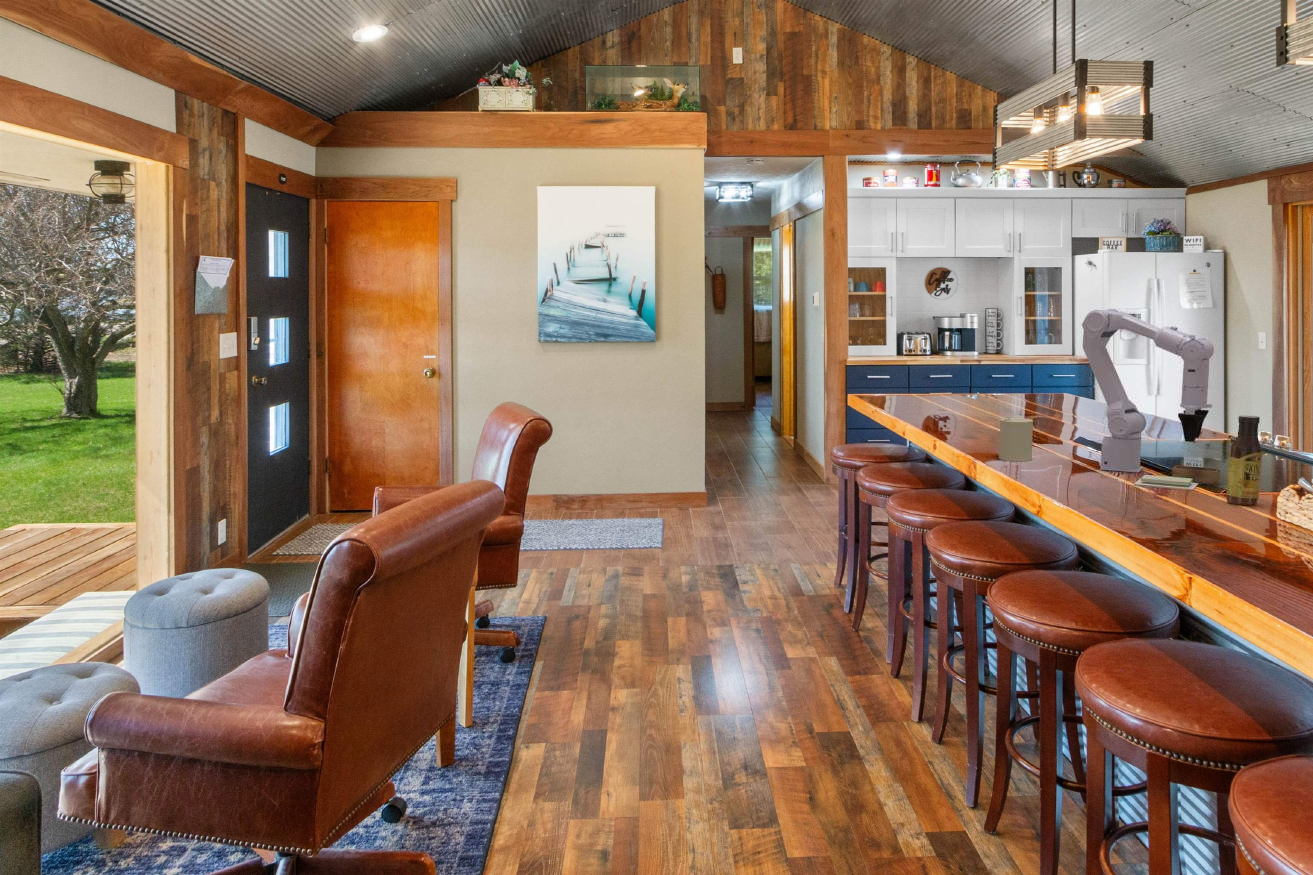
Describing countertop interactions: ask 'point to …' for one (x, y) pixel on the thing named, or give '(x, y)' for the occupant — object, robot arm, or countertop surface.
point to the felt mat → (1186, 487)
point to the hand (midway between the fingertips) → (1191, 439)
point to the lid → (1166, 480)
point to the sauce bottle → (1245, 463)
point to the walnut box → (1197, 474)
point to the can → (1016, 439)
